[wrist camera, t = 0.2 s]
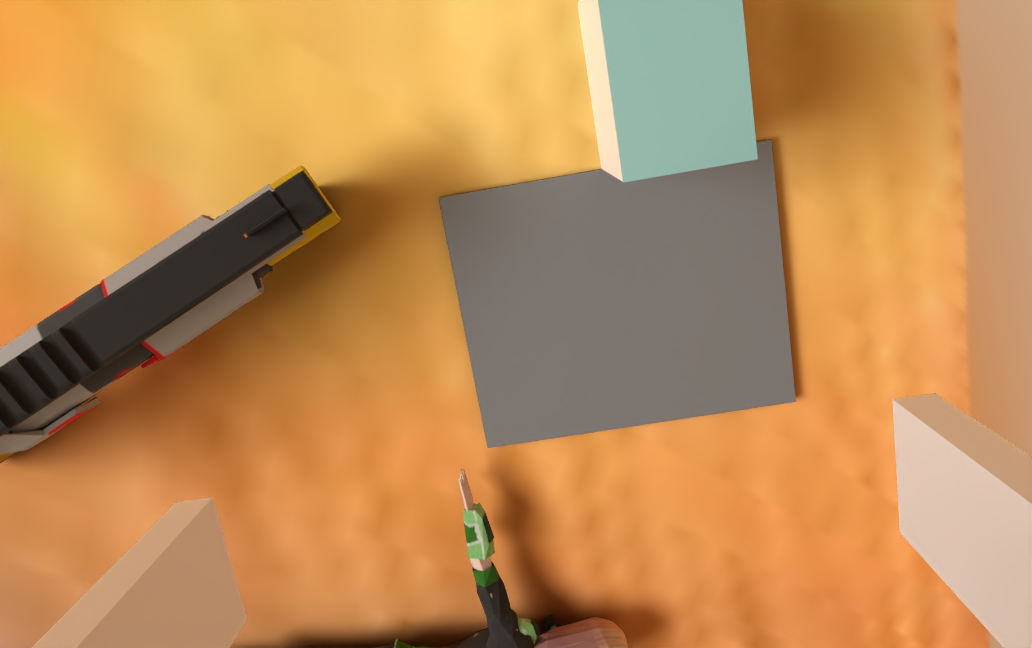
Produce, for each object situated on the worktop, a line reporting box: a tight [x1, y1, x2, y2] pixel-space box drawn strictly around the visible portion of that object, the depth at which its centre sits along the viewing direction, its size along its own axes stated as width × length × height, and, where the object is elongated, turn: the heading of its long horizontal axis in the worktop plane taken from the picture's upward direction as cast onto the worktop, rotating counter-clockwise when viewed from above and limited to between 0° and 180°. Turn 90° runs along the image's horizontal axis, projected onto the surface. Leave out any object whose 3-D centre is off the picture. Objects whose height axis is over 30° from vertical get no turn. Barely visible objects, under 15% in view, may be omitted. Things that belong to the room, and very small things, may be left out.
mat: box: [439, 140, 796, 448], centre depth 41 cm, size 14×17×1 cm
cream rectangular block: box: [578, 0, 758, 182], centre depth 33 cm, size 8×5×11 cm, turn 10°
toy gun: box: [0, 166, 341, 463], centre depth 37 cm, size 4×26×15 cm, turn 123°
